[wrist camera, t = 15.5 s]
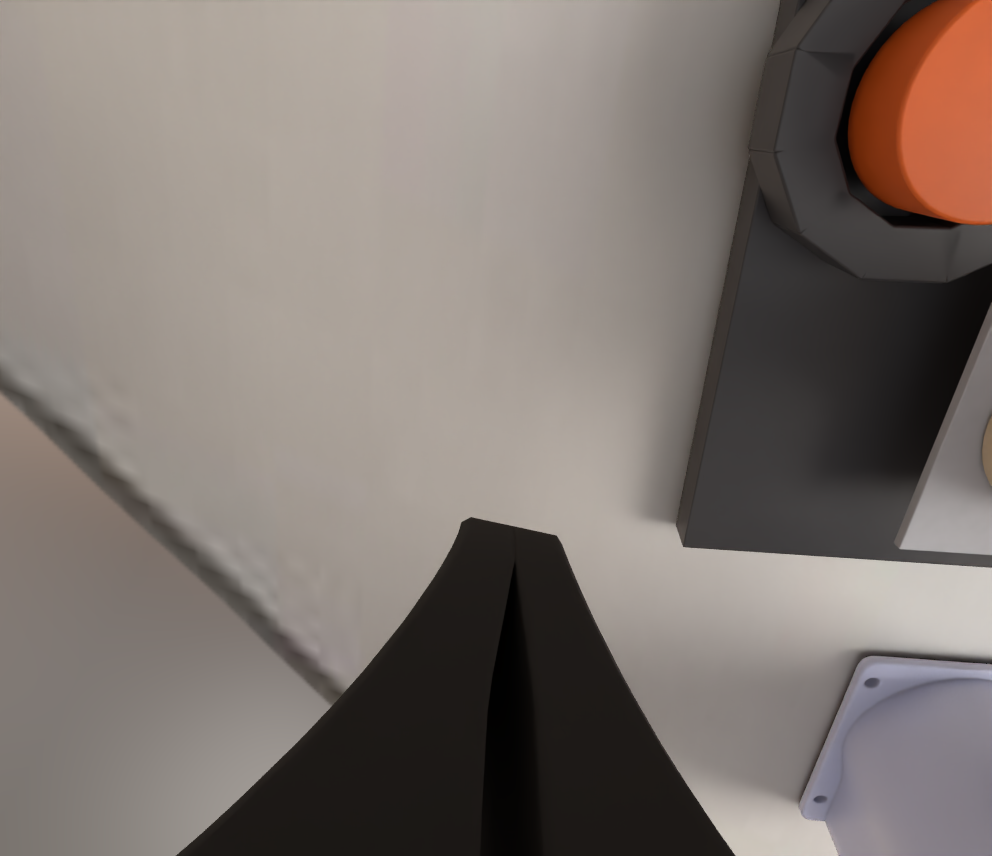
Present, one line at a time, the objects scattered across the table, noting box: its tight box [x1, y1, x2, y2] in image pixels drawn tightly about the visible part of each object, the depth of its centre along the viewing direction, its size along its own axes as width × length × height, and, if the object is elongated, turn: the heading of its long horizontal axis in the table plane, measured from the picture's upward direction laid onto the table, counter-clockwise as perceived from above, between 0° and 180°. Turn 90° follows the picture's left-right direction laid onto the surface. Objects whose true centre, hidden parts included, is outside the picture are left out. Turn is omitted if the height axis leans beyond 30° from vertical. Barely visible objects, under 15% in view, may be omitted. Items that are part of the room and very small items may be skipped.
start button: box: [848, 0, 992, 225], centre depth 11 cm, size 4×4×2 cm
